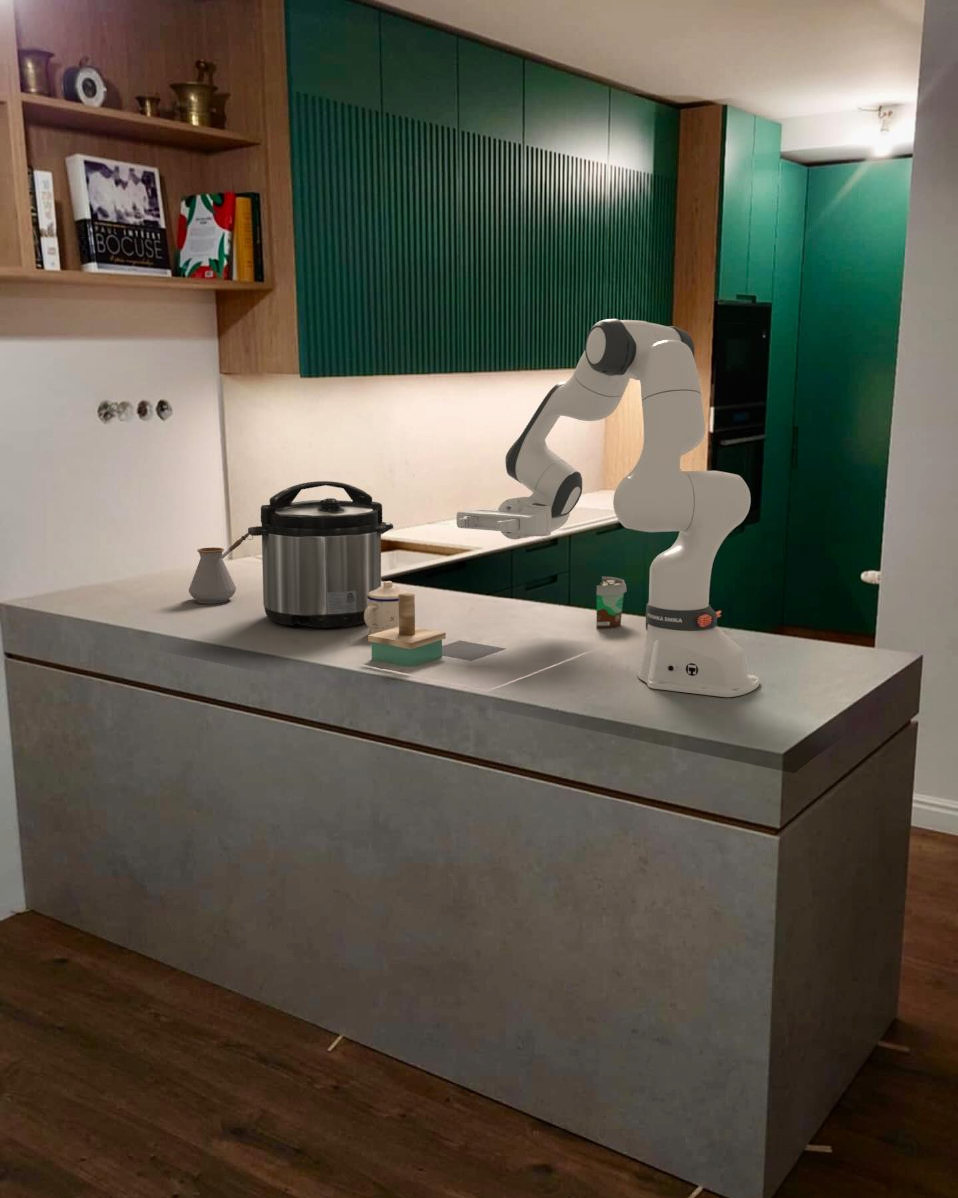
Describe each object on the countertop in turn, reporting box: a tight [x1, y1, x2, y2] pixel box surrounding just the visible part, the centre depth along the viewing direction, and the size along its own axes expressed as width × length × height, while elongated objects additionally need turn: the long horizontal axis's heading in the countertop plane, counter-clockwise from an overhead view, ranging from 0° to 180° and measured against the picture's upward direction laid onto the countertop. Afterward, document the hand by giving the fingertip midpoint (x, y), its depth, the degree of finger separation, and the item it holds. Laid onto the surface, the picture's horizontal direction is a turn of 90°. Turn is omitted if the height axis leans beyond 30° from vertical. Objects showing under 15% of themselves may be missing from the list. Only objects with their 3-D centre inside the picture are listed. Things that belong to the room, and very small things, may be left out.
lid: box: [367, 592, 447, 649], centre depth 236 cm, size 11×11×9 cm
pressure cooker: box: [247, 480, 394, 629], centre depth 272 cm, size 30×28×32 cm
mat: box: [442, 640, 506, 662], centre depth 243 cm, size 12×12×1 cm
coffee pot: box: [188, 532, 254, 605], centre depth 297 cm, size 21×12×15 cm, turn 152°
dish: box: [370, 639, 443, 667], centre depth 237 cm, size 10×10×4 cm
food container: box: [596, 576, 628, 630], centre depth 267 cm, size 12×6×10 cm, turn 168°
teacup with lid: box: [364, 580, 409, 635], centre depth 257 cm, size 12×9×12 cm
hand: (480, 524), depth 244 cm, fingers open, 8 cm apart
